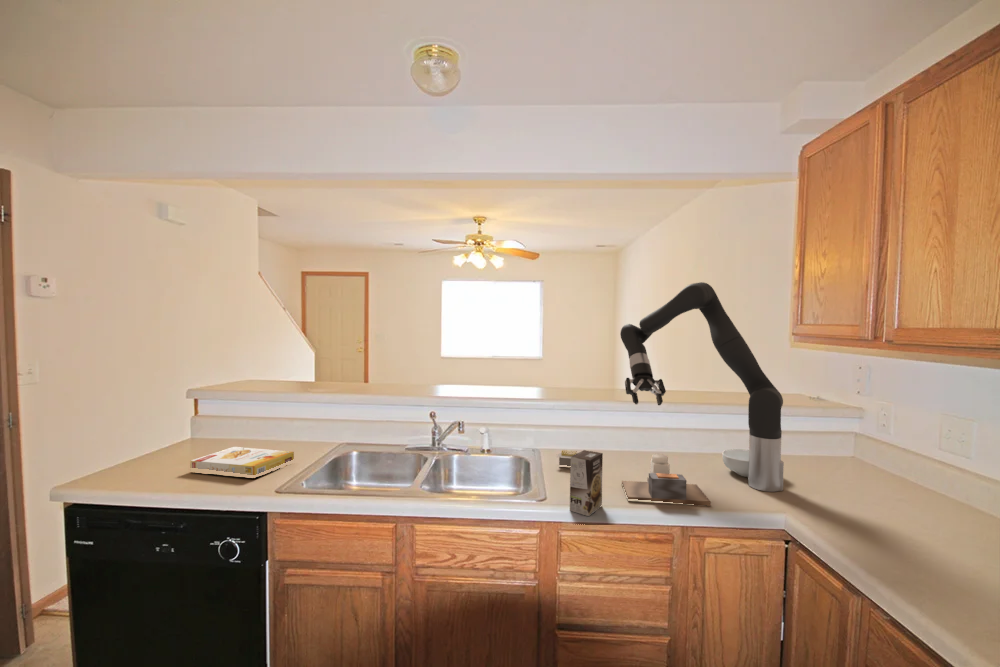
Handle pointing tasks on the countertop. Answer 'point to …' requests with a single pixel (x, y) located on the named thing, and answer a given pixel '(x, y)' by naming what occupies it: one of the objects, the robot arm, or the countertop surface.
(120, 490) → the countertop surface
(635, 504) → the countertop surface
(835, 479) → the countertop surface
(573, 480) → the coffee box
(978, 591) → the countertop surface
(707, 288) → the robot arm
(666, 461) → the plunger knob
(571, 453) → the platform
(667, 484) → the knob mount
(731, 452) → the cereal bowl
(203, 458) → the cereal box
